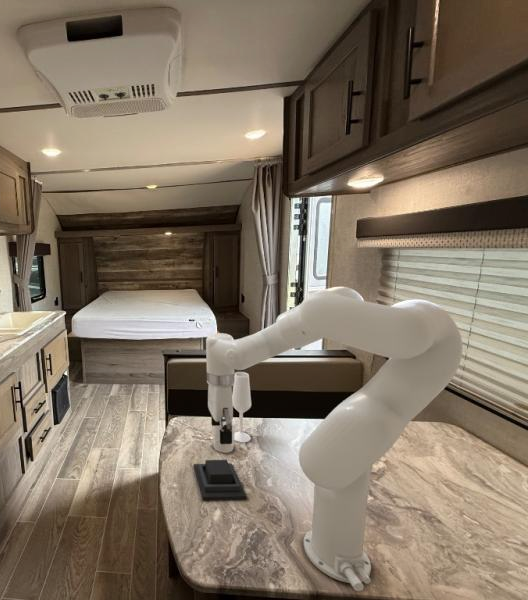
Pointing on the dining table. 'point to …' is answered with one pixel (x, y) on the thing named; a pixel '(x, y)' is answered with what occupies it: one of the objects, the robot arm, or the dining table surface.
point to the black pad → (218, 472)
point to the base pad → (218, 486)
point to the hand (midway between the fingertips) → (221, 433)
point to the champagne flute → (241, 402)
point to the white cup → (216, 438)
